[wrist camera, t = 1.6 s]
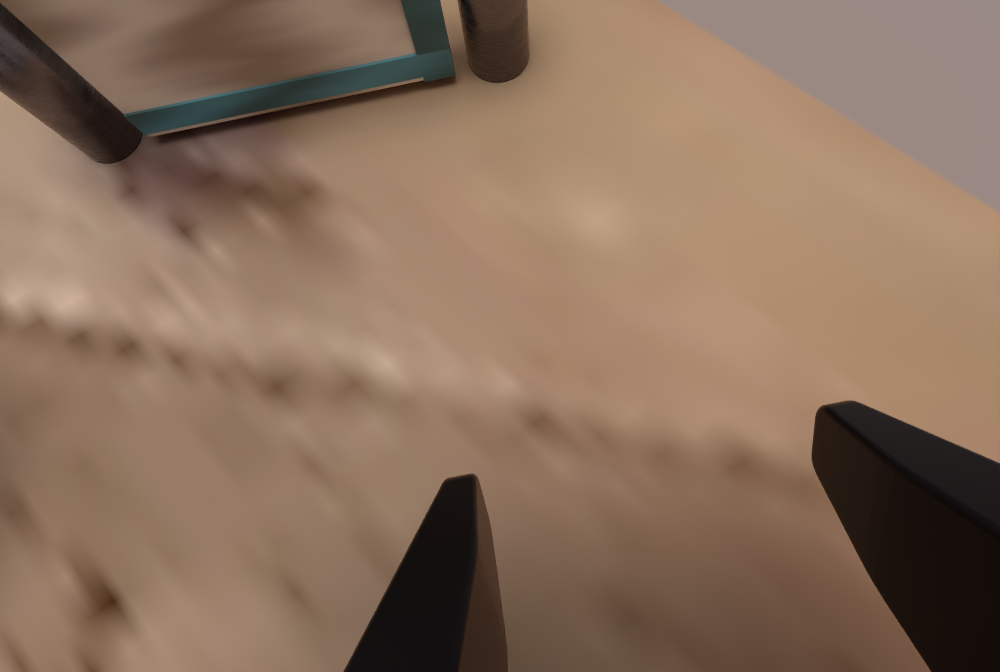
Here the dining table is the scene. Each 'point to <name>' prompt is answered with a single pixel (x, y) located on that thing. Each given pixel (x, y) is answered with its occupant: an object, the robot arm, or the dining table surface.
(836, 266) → the dining table surface
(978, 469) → the robot arm
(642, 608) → the dining table surface
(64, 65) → the gate posts
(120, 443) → the dining table surface
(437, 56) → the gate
